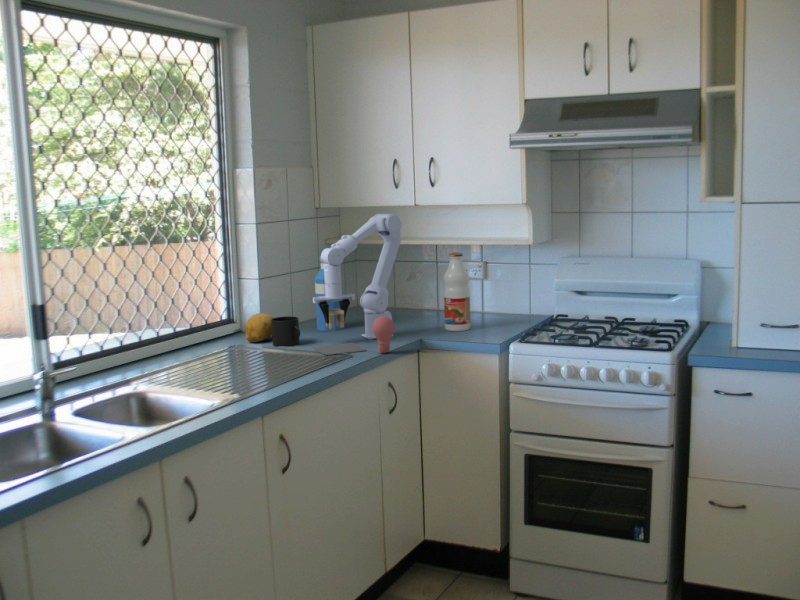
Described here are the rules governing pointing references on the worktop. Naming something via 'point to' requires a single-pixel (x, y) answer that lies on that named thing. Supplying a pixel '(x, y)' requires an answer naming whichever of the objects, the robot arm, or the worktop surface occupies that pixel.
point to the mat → (340, 349)
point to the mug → (285, 331)
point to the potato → (258, 327)
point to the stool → (339, 318)
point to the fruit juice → (456, 295)
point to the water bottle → (332, 305)
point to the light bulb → (383, 332)
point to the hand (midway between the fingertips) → (335, 322)
